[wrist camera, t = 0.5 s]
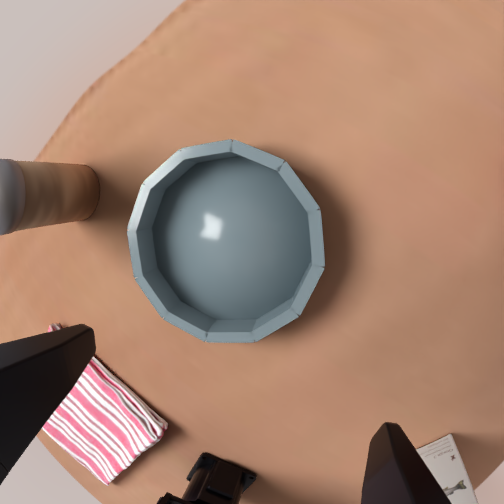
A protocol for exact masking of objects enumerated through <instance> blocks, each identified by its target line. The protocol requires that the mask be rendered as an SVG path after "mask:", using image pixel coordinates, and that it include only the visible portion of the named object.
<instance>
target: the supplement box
mask: <svg viewBox="0 0 504 504" xmlns="http://www.w3.org/2000/svg"><path fill="white" fill-rule="evenodd" d="M416 451H417V452H418V454H419V455H420V456H421V458H422V459H423V461H424V462H425V464H426V465H427V467H428V468H429V470H430V471H431V473H432V474H433V476H434V477H435V479H436V480H437V482H438V483H439V485H440V486H441V488H442V489H443V491H444V492H445V494H446V495H447V497H448V498H449V500H450V502H451V503H452V504H478V501H477V498H476V495H475V492H474V490H473V487H472V484H471V481H470V479H469V476H468V474H467V471H466V469H465V466H464V463H463V461H462V458H461V456H460V453H459V451H458V449H457V446H456V444H455V441H454V439H453V436H452V434H448V435H447V436H445V437H443V438H441V439H439V440H437V441H435V442H432V443H430V444H428V445H426V446H423V447H421V448H418V449H416Z"/></svg>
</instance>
